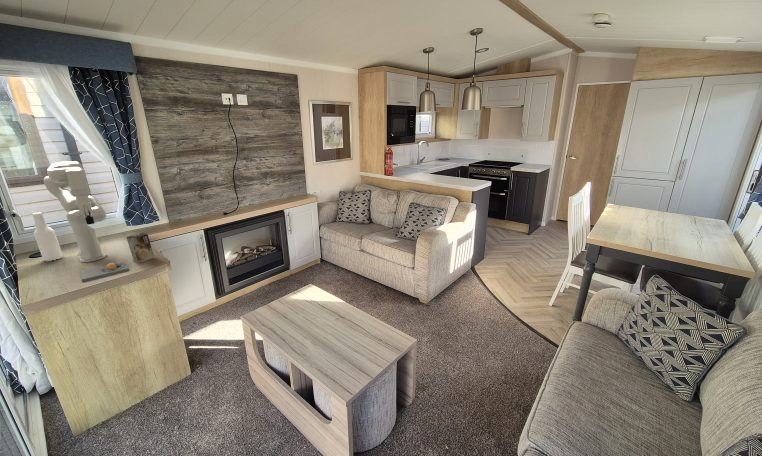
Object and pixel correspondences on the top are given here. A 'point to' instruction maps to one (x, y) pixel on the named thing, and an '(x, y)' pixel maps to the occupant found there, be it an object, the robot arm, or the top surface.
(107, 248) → the top surface
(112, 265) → the ball
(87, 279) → the deck
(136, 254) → the coffee box
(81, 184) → the robot arm
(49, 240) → the alcohol
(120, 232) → the top surface
